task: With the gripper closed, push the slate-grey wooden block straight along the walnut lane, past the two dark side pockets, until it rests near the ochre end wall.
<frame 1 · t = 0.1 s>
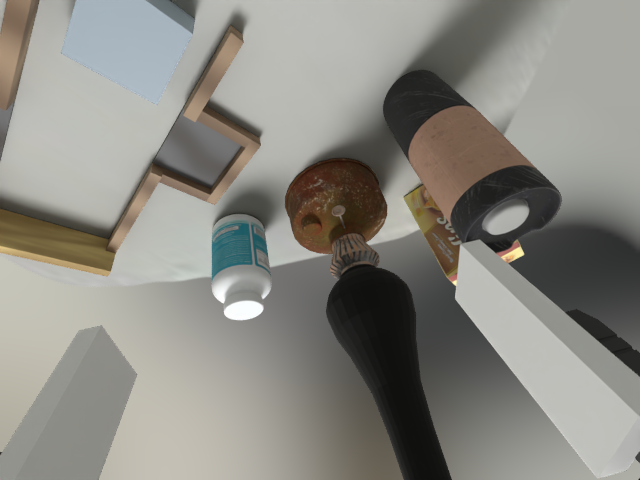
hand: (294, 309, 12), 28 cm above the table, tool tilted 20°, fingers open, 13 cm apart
pill bottle: (238, 228, 48), on the table
slate block: (136, 26, 27), on the table
travel mug: (411, 101, 38), on the table
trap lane: (94, 126, 32), on the table
candy box: (432, 185, 49), on the table
oil lamp: (332, 197, 47), on the table
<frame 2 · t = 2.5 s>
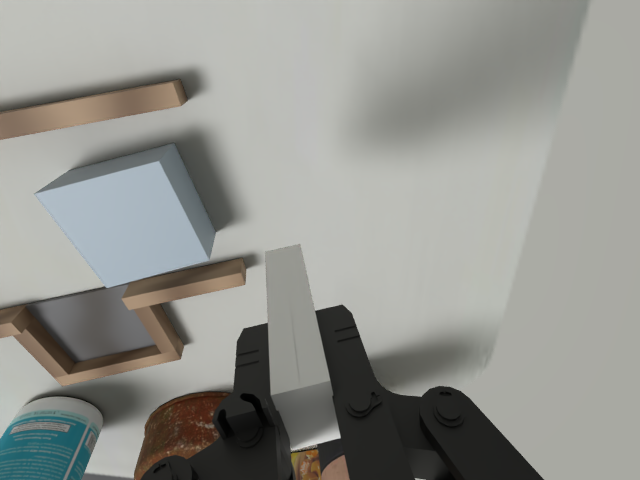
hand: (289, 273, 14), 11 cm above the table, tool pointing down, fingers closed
pill bottle: (65, 413, 33), on the table
slate block: (149, 202, 23), on the table
travel mug: (341, 384, 37), on the table
candy box: (310, 454, 45), on the table
oil lamp: (209, 426, 38), on the table
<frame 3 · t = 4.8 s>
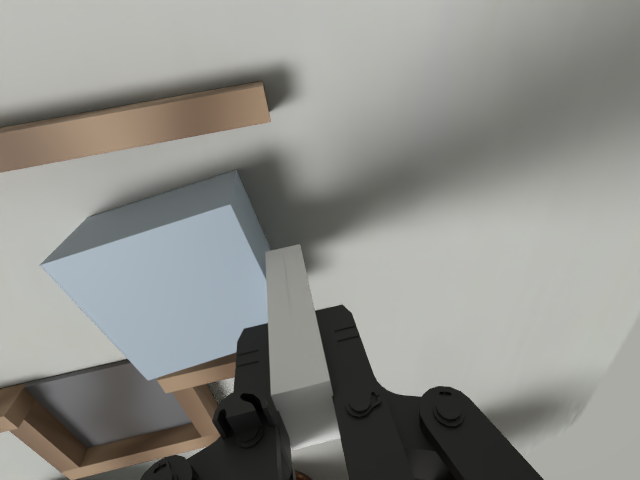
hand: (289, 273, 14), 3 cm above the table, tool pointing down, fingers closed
slate block: (198, 252, 17), on the table, touching gripper
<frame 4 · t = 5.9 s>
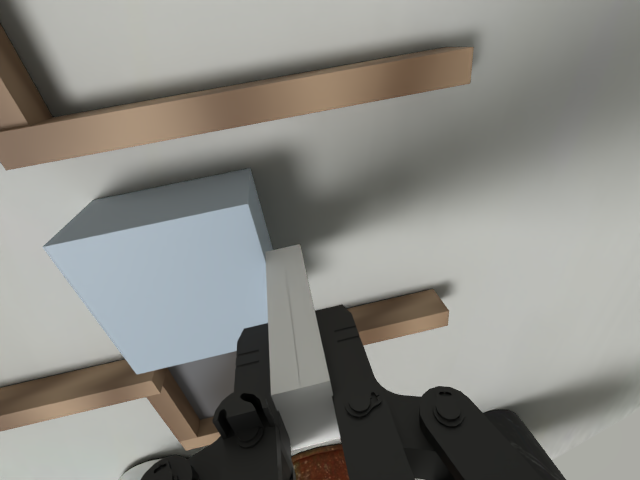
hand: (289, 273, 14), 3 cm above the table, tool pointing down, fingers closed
pill bottle: (169, 474, 26), on the table
slate block: (200, 247, 16), on the table
travel mug: (482, 429, 31), on the table
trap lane: (132, 267, 16), on the table
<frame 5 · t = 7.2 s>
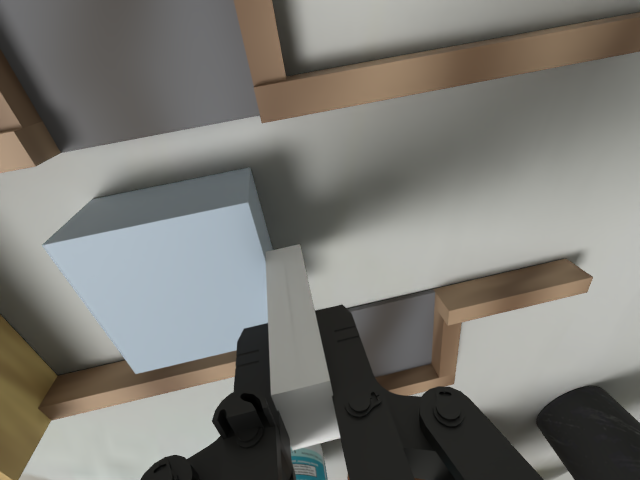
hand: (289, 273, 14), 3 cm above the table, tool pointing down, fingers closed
pill bottle: (277, 447, 27), on the table
slate block: (199, 246, 16), on the table, touching gripper
travel mug: (568, 407, 32), on the table
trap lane: (308, 231, 17), on the table
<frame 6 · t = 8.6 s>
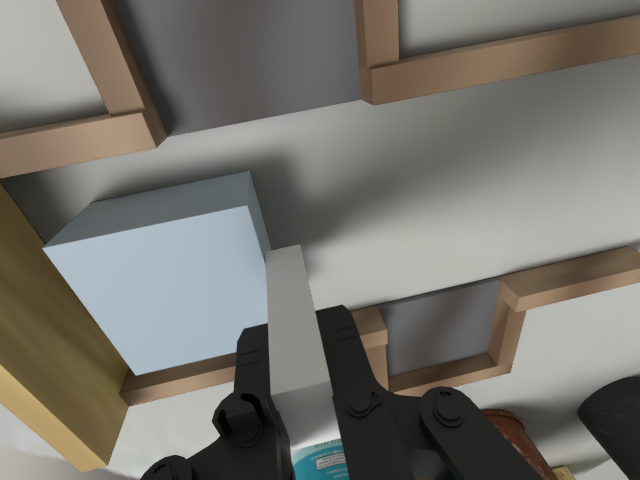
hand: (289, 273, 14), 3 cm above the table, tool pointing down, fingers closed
pill bottle: (327, 438, 27), on the table
slate block: (199, 248, 16), on the table
travel mug: (609, 398, 32), on the table
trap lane: (387, 217, 17), on the table
candy box: (527, 477, 39), on the table
oil lamp: (455, 449, 32), on the table
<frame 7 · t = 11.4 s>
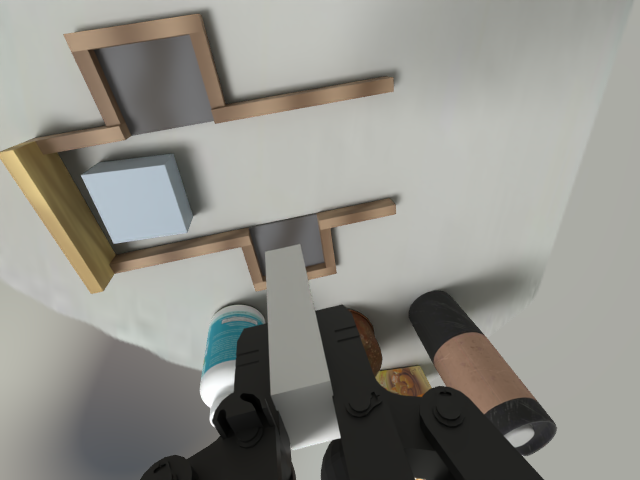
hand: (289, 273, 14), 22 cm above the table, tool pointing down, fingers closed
pill bottle: (238, 321, 44), on the table
slate block: (149, 190, 34), on the table
travel mug: (429, 307, 50), on the table
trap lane: (243, 176, 34), on the table
candy box: (394, 374, 57), on the table
oil lamp: (330, 340, 50), on the table
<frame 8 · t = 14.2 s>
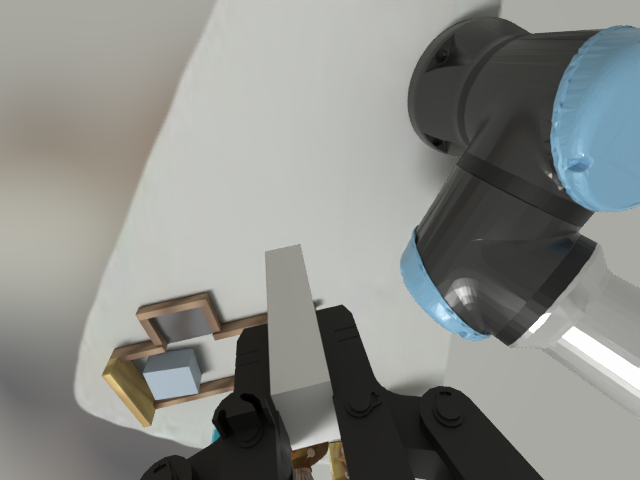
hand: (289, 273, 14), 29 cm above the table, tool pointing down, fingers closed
slate block: (176, 363, 56), on the table
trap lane: (232, 353, 57), on the table
candy box: (345, 443, 79), on the table
oil lamp: (296, 427, 72), on the table
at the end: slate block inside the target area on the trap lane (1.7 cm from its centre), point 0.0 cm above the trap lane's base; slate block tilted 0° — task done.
